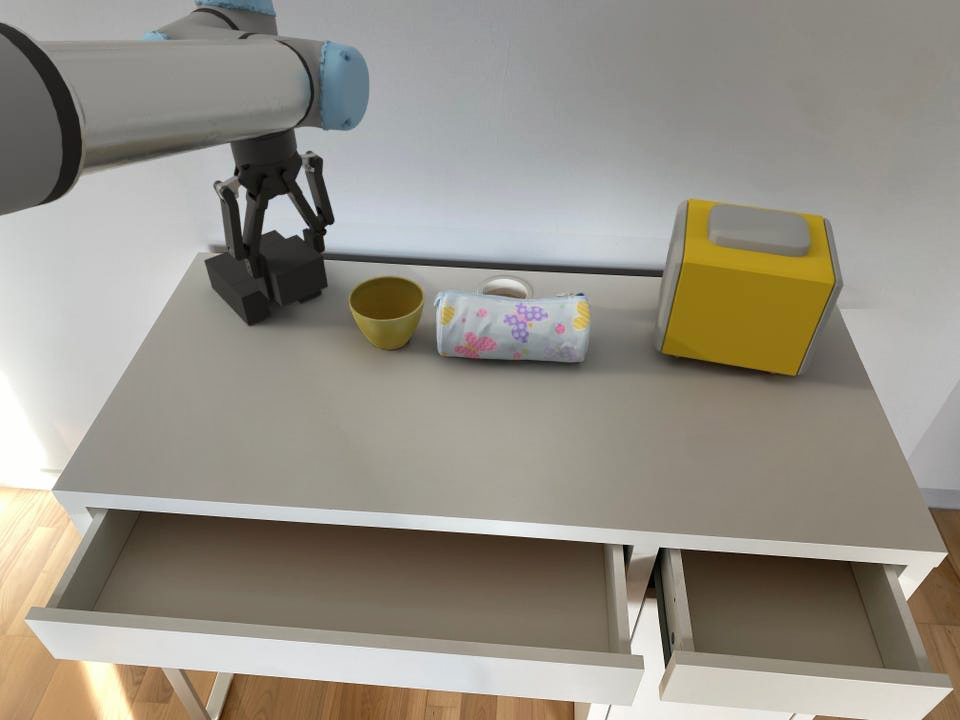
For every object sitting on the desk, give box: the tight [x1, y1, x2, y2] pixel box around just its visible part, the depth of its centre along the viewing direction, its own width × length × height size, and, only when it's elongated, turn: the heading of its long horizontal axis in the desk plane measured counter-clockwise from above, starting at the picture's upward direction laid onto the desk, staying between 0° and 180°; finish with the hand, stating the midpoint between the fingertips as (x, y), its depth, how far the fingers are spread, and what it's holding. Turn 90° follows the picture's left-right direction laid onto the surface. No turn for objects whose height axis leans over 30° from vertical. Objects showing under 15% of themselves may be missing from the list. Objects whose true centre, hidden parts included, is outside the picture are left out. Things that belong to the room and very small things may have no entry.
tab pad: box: [259, 229, 329, 308], centre depth 97 cm, size 7×10×5 cm
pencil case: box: [433, 288, 592, 363], centre depth 95 cm, size 21×9×10 cm, turn 89°
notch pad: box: [203, 250, 323, 327], centre depth 106 cm, size 12×12×5 cm
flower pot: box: [348, 275, 426, 351], centre depth 98 cm, size 10×10×7 cm
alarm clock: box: [653, 198, 844, 377], centre depth 95 cm, size 20×16×18 cm
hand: (292, 283), depth 98 cm, fingers closed on tab pad, 7 cm apart
